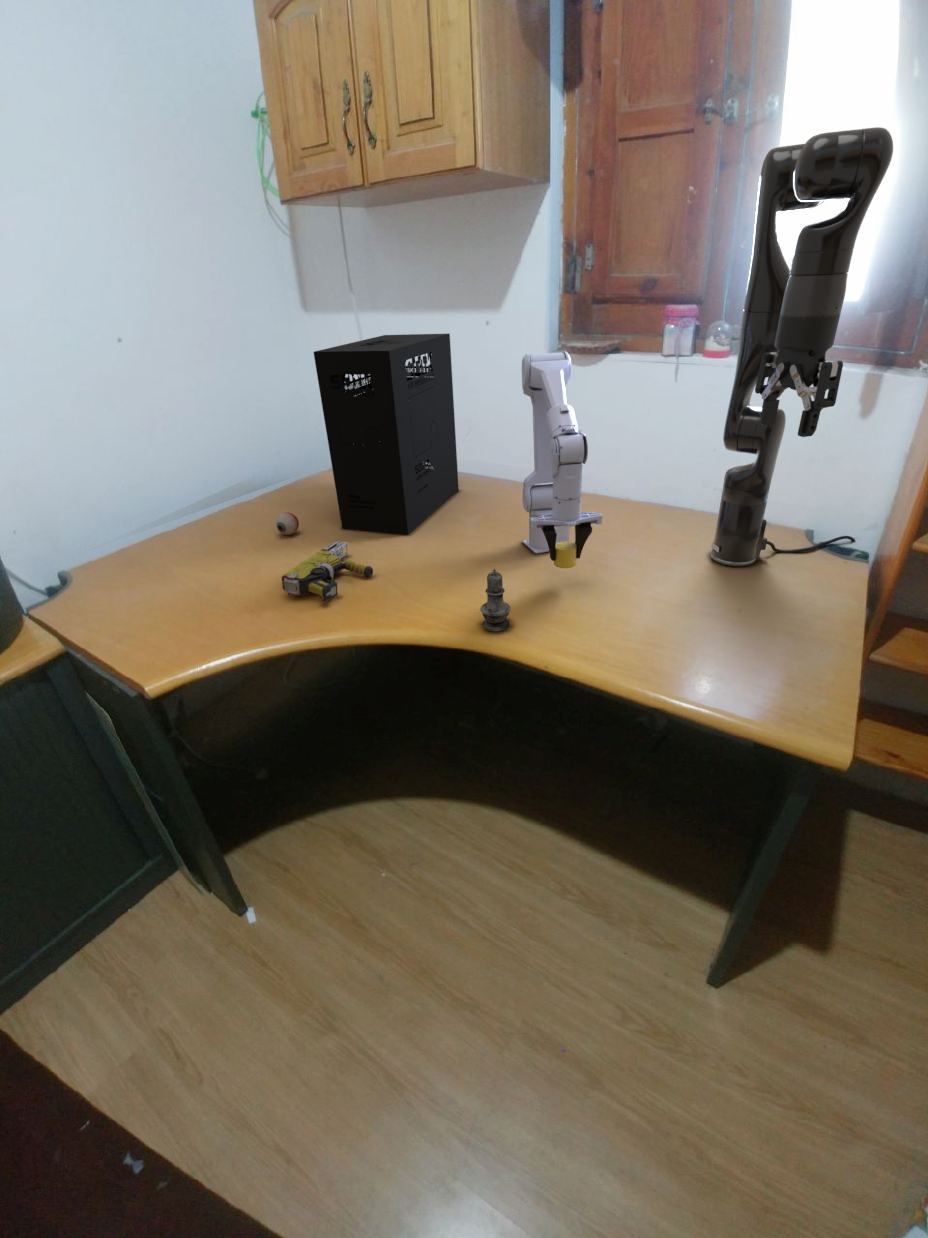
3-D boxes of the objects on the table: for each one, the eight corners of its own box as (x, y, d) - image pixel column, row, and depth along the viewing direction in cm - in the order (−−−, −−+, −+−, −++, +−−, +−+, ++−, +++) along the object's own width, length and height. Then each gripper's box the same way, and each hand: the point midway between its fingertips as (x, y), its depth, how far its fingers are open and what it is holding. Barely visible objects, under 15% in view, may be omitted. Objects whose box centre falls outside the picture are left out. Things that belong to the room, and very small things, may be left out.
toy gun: (389, 548, 145) (334, 537, 149) (339, 588, 125) (277, 575, 129) (389, 566, 147) (335, 555, 151) (340, 608, 127) (279, 595, 131)
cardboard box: (400, 486, 197) (384, 334, 175) (458, 490, 190) (449, 333, 168) (342, 528, 167) (313, 351, 144) (408, 534, 160) (389, 350, 138)
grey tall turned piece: (508, 633, 114) (507, 576, 108) (478, 631, 116) (475, 574, 110) (512, 617, 119) (512, 562, 113) (483, 615, 120) (481, 561, 114)
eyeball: (273, 537, 164) (268, 516, 161) (287, 528, 169) (282, 508, 166) (291, 539, 161) (286, 518, 158) (305, 530, 166) (301, 510, 163)
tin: (574, 569, 126) (575, 550, 124) (551, 567, 127) (552, 549, 125) (577, 560, 130) (578, 542, 128) (555, 558, 131) (556, 540, 129)
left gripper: (535, 505, 117) (534, 568, 124) (608, 499, 118) (603, 562, 125) (528, 493, 123) (528, 554, 130) (598, 488, 124) (594, 549, 131)
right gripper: (874, 311, 79) (841, 437, 87) (798, 307, 91) (776, 418, 99) (824, 316, 77) (796, 443, 86) (754, 311, 90) (735, 423, 98)
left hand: (564, 557), depth 128 cm, fingers closed on tin, 5 cm apart
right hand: (785, 429), depth 92 cm, fingers open, 8 cm apart
